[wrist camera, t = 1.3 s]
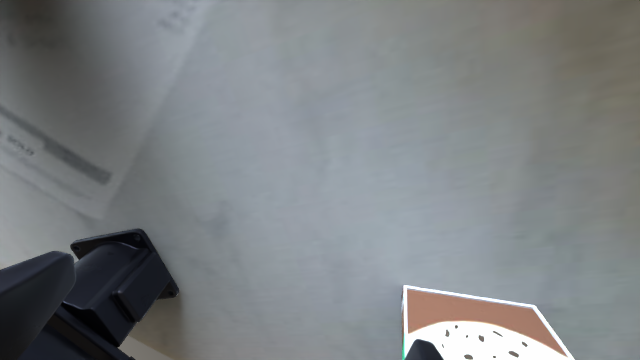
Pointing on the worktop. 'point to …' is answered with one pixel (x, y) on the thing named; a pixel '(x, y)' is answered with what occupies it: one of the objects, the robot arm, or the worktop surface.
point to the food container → (477, 327)
